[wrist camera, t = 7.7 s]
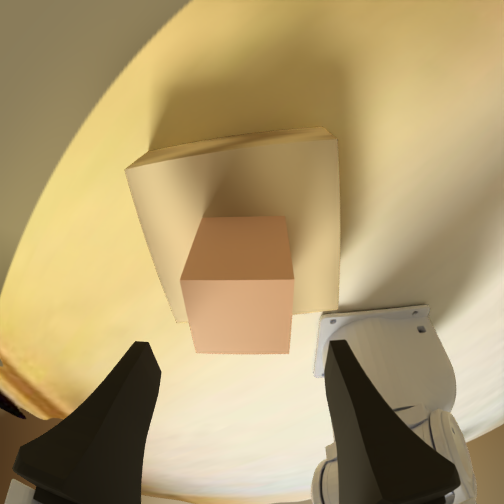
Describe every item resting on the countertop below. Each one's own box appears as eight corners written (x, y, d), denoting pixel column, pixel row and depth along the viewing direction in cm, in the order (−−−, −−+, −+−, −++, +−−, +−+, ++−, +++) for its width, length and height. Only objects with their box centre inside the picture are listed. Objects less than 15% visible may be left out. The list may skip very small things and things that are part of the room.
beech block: (321, 125, 16) (337, 139, 13) (327, 271, 21) (337, 309, 18) (150, 149, 17) (124, 169, 14) (187, 284, 22) (176, 323, 19)
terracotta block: (285, 216, 15) (294, 279, 11) (283, 282, 17) (289, 353, 13) (202, 217, 15) (179, 280, 11) (210, 283, 17) (196, 353, 13)
